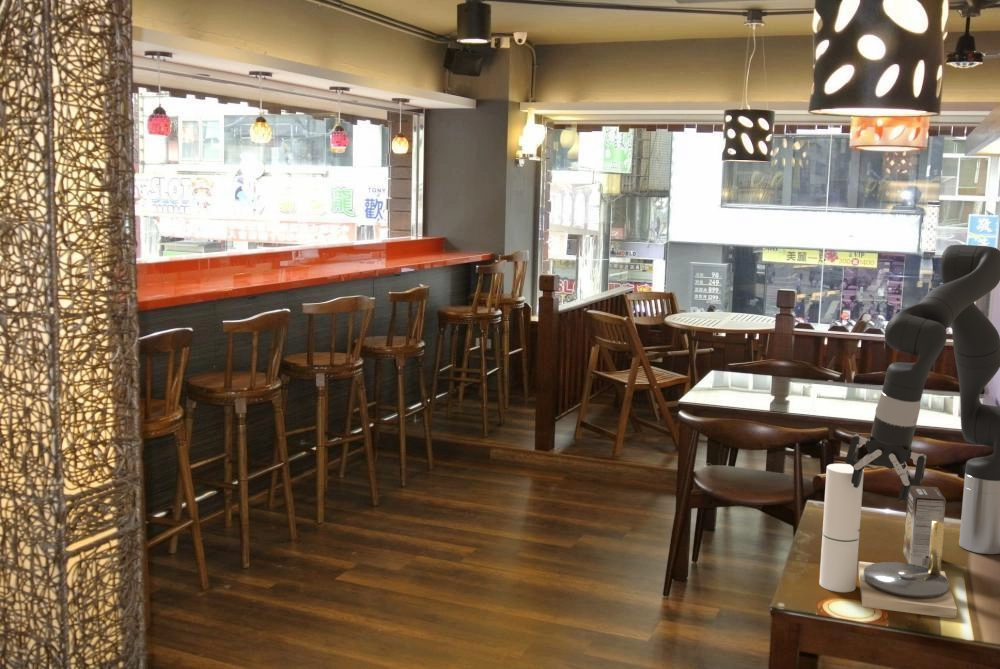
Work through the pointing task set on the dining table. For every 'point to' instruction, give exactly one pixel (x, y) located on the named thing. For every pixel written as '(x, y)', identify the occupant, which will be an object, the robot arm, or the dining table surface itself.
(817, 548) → the dining table surface
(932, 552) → the crank wheel
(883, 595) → the stand
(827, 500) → the cylindrical container
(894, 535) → the dining table surface
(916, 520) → the coffee box
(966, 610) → the dining table surface
